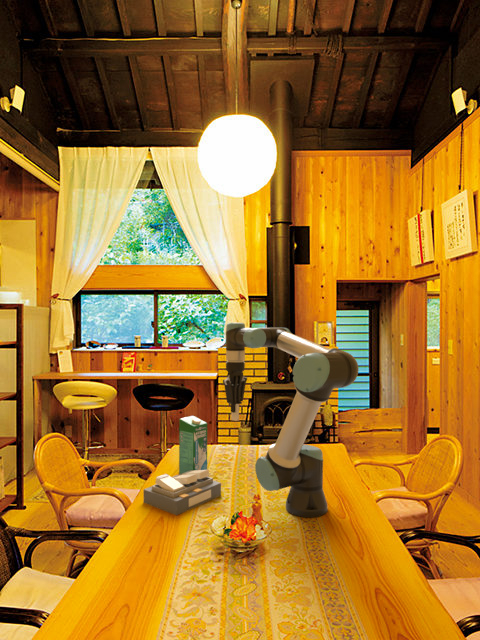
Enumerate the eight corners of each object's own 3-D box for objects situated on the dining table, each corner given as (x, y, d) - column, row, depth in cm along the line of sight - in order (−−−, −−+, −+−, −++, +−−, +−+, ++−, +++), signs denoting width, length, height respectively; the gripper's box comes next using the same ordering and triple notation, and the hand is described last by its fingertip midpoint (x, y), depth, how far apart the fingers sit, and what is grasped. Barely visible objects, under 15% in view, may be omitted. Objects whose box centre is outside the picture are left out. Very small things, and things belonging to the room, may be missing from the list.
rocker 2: (197, 480, 180) (196, 473, 180) (187, 484, 176) (186, 477, 176) (179, 481, 186) (178, 474, 186) (170, 484, 182) (169, 477, 182)
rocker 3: (209, 475, 185) (208, 469, 186) (200, 479, 181) (199, 472, 182) (191, 476, 191) (190, 470, 192) (183, 479, 187) (182, 473, 188)
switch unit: (221, 495, 185) (221, 478, 185) (176, 515, 166) (177, 496, 166) (188, 485, 196) (188, 469, 196) (143, 502, 177) (143, 485, 177)
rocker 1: (182, 491, 175) (184, 485, 174) (173, 495, 171) (174, 489, 170) (165, 479, 181) (166, 473, 180) (155, 482, 177) (156, 476, 176)
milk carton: (193, 478, 205) (193, 421, 205) (178, 473, 210) (179, 418, 210) (207, 472, 212) (207, 417, 212) (192, 468, 217) (192, 415, 217)
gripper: (238, 359, 194) (238, 416, 194) (217, 361, 184) (217, 421, 184) (252, 360, 189) (252, 418, 189) (232, 362, 179) (231, 424, 179)
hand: (235, 420), depth 187 cm, fingers closed
